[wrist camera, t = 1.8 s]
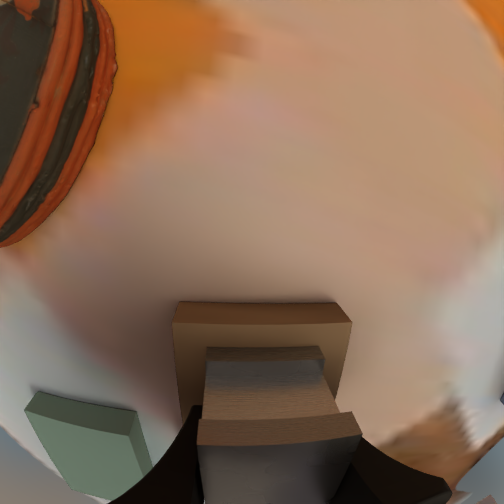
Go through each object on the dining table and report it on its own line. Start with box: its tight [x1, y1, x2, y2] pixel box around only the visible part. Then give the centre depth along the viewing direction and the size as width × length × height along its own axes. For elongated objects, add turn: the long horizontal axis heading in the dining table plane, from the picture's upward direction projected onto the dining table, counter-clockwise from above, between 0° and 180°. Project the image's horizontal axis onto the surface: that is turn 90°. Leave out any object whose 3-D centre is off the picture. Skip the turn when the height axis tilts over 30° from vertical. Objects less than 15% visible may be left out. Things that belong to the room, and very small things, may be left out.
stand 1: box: [24, 392, 153, 501], centre depth 14 cm, size 9×7×2 cm
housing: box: [197, 346, 363, 504], centre depth 10 cm, size 7×4×5 cm, turn 178°
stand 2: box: [172, 302, 352, 425], centre depth 13 cm, size 9×7×2 cm
